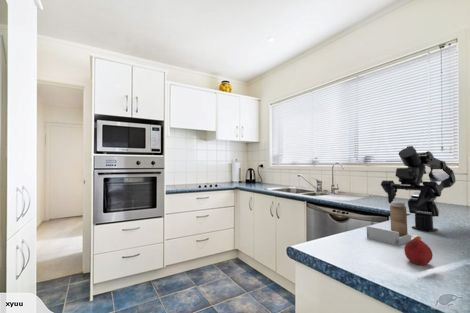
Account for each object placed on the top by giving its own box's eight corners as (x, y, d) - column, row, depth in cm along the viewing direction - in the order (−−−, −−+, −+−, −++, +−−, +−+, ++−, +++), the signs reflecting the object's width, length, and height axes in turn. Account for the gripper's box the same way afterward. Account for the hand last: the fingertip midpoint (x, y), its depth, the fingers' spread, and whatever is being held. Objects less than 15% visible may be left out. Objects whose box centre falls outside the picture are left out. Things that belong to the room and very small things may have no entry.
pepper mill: (396, 232, 87) (395, 201, 88) (410, 235, 83) (409, 202, 83) (388, 233, 86) (386, 201, 86) (401, 237, 81) (400, 203, 81)
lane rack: (390, 232, 91) (390, 220, 91) (420, 239, 82) (420, 225, 82) (367, 239, 82) (366, 225, 82) (398, 248, 73) (397, 232, 74)
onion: (421, 272, 56) (420, 240, 57) (399, 263, 62) (398, 234, 62) (438, 269, 58) (437, 238, 58) (415, 260, 63) (414, 232, 64)
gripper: (381, 161, 98) (368, 188, 92) (435, 159, 82) (424, 192, 76) (392, 179, 102) (380, 206, 95) (446, 180, 85) (436, 213, 79)
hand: (402, 204), depth 86 cm, fingers open, 9 cm apart
